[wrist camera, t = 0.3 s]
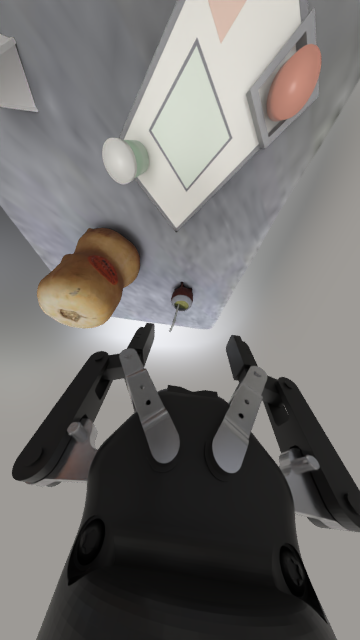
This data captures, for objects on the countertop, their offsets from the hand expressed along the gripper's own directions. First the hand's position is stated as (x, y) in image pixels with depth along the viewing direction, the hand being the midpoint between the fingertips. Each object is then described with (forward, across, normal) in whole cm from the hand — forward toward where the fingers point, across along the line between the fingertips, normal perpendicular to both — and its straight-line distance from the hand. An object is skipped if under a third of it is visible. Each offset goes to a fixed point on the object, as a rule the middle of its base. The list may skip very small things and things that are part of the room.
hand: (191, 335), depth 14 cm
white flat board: (+24, +2, -22) cm, 32 cm away
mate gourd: (+34, +2, +9) cm, 36 cm away
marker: (+24, +12, -18) cm, 32 cm away
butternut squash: (+30, +21, -2) cm, 36 cm away
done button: (+19, -7, -24) cm, 32 cm away
